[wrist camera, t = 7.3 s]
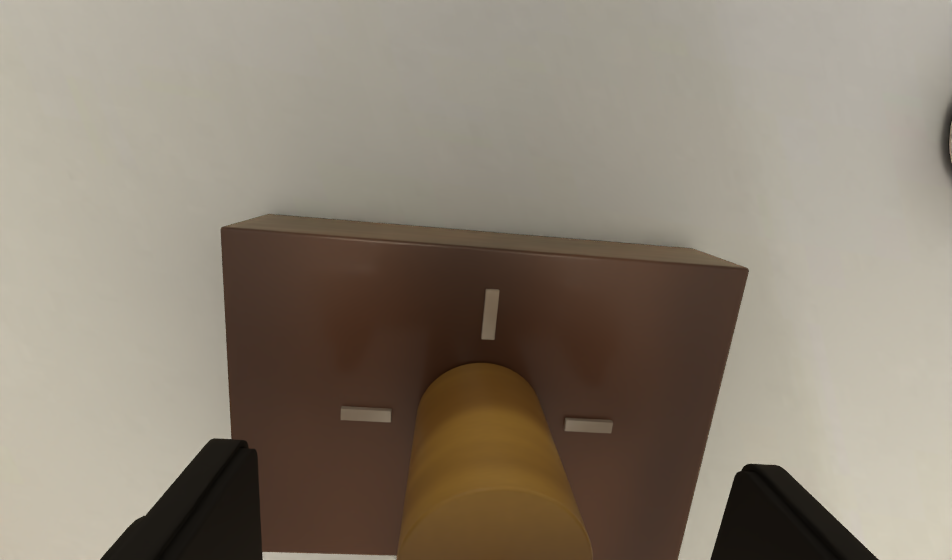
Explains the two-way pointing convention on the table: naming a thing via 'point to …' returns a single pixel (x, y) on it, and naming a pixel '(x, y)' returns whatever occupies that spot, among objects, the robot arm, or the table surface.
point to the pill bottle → (950, 142)
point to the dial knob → (487, 475)
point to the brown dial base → (464, 342)
